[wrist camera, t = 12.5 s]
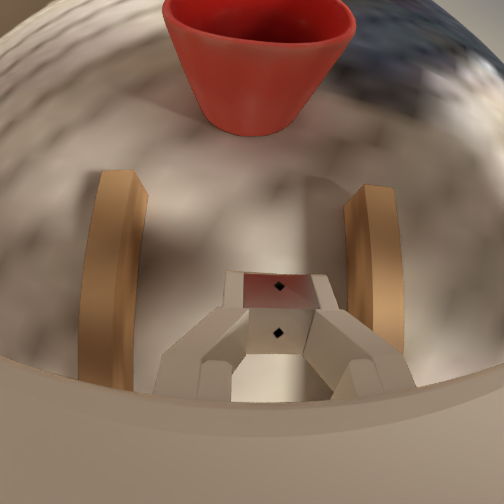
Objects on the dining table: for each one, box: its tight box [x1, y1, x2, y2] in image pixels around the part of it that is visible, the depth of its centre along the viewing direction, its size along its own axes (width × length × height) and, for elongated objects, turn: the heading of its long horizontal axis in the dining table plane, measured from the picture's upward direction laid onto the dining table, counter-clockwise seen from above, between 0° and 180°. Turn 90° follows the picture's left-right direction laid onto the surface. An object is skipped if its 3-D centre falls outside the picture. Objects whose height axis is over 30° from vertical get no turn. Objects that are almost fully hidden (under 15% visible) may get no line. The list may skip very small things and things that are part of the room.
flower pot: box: [162, 0, 356, 136], centre depth 16 cm, size 11×11×10 cm
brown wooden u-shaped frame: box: [78, 170, 404, 392], centre depth 14 cm, size 22×17×4 cm
